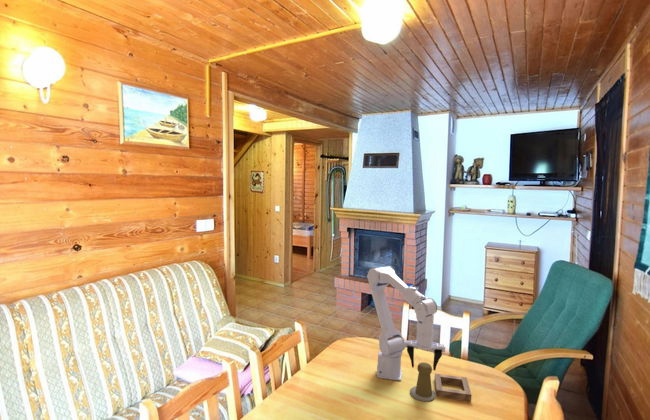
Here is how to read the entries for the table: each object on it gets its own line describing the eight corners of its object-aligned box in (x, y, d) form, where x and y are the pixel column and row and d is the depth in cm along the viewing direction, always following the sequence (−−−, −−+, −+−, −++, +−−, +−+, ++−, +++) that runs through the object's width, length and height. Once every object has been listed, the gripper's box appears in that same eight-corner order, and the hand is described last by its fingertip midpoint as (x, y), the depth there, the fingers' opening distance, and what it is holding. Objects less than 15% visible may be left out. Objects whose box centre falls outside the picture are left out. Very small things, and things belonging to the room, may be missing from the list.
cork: (432, 398, 131) (433, 369, 130) (415, 395, 132) (416, 366, 132) (431, 389, 137) (433, 361, 136) (415, 387, 138) (416, 359, 137)
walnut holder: (436, 396, 133) (436, 389, 133) (434, 379, 145) (434, 373, 145) (471, 401, 131) (471, 394, 130) (466, 383, 142) (466, 377, 142)
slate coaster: (410, 399, 131) (410, 397, 131) (410, 386, 140) (410, 384, 140) (435, 403, 129) (435, 401, 129) (434, 389, 138) (434, 387, 138)
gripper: (404, 334, 131) (403, 370, 132) (446, 338, 127) (444, 375, 128) (404, 326, 137) (403, 361, 138) (444, 330, 134) (443, 366, 135)
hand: (423, 367), depth 134 cm, fingers open, 7 cm apart
